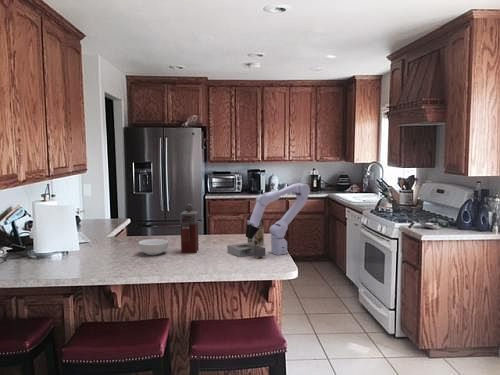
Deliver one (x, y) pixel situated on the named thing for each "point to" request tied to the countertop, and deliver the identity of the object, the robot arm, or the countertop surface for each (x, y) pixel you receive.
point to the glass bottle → (189, 230)
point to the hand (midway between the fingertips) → (248, 238)
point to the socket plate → (241, 249)
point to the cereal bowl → (153, 246)
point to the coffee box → (258, 235)
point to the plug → (259, 252)
